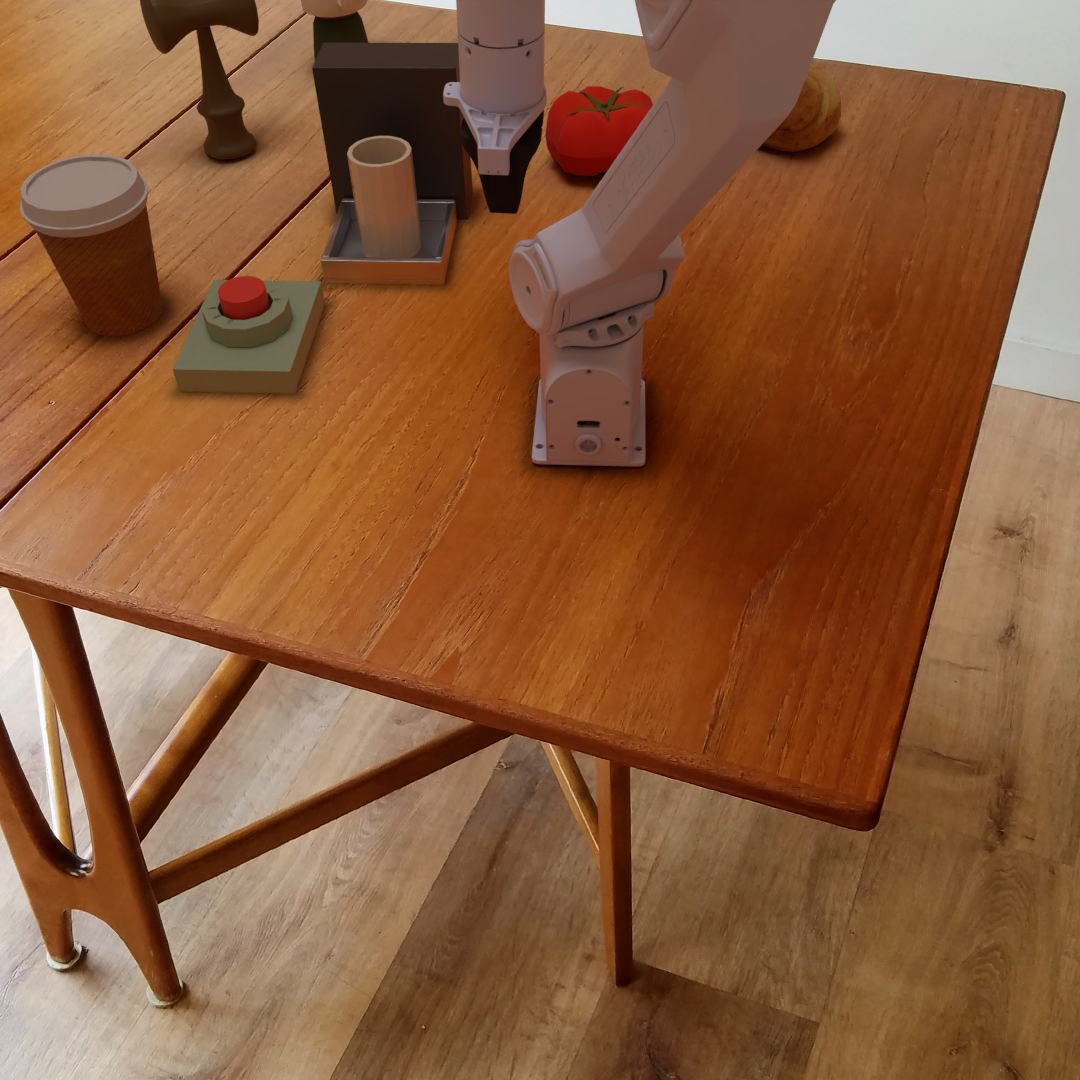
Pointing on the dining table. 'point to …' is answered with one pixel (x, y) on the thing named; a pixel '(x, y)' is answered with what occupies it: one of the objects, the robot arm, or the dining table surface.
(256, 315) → the button
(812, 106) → the bread roll
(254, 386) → the switch block
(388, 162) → the beige hollow cylinder
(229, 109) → the kendama
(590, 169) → the tomato
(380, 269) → the pan
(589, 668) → the dining table surface
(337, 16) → the character mug
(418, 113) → the coffee machine
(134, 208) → the disposable coffee cup
